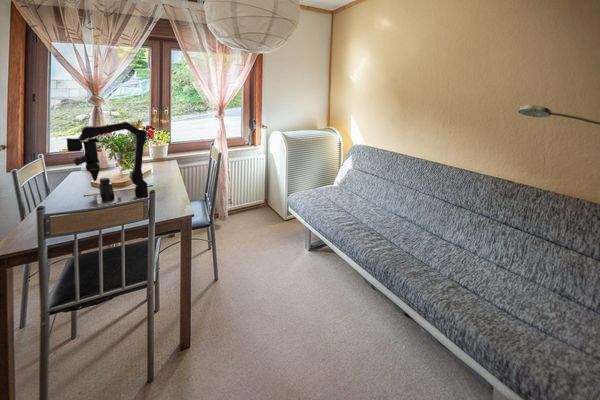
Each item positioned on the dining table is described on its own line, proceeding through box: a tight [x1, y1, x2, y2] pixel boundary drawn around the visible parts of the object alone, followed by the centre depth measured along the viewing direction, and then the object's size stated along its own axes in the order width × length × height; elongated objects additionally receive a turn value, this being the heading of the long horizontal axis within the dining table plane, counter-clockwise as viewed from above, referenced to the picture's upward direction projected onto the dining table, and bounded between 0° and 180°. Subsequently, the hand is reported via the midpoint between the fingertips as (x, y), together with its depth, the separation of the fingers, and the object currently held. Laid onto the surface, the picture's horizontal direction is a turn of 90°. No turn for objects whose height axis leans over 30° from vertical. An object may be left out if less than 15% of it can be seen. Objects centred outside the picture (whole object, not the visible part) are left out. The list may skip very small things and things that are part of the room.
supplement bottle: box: [98, 177, 115, 201], centre depth 190 cm, size 7×7×12 cm
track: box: [93, 190, 123, 207], centre depth 191 cm, size 13×14×4 cm
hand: (95, 179), depth 186 cm, fingers open, 9 cm apart
